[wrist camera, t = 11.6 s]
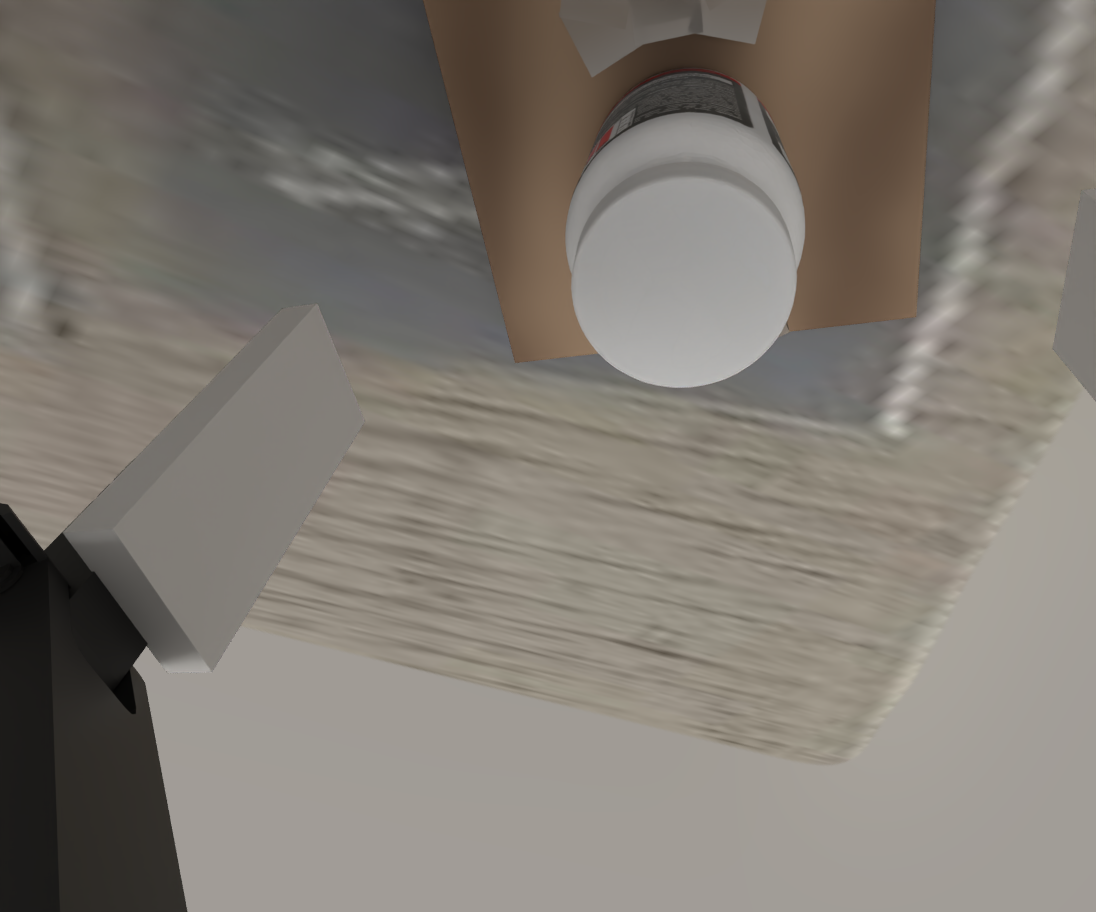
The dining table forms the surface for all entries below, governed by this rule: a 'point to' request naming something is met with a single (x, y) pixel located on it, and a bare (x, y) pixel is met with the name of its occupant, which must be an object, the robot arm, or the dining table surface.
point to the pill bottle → (685, 231)
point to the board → (709, 43)
